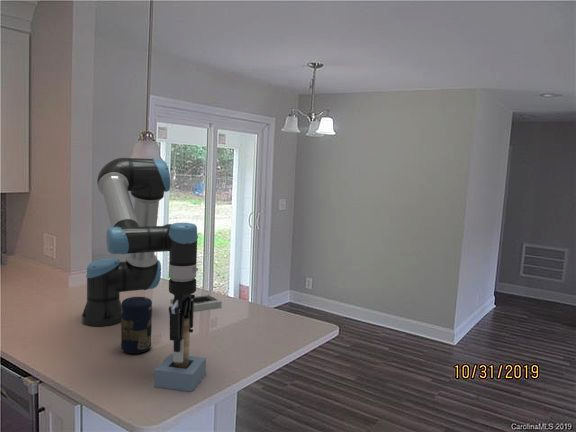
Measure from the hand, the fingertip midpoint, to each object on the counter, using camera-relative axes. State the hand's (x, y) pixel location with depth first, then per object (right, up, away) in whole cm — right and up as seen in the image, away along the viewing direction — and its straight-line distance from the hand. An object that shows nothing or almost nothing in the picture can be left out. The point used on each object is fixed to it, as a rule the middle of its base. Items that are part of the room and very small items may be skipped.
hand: (181, 357), depth 131 cm
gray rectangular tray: (-10, +1, +68) cm, 69 cm away
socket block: (0, -7, +1) cm, 7 cm away
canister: (-19, -4, +20) cm, 28 cm away
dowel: (0, -4, 0) cm, 4 cm away
